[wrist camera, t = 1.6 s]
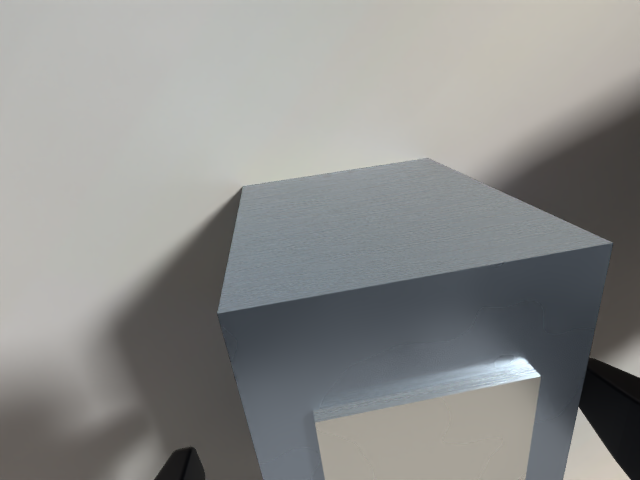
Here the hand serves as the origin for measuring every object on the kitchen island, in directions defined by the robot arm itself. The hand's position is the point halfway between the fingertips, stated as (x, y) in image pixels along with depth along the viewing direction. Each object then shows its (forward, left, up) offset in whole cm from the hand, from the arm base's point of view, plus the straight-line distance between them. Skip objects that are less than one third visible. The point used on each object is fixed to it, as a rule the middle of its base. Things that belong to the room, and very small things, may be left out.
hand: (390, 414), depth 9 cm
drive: (0, 0, -4) cm, 4 cm away
